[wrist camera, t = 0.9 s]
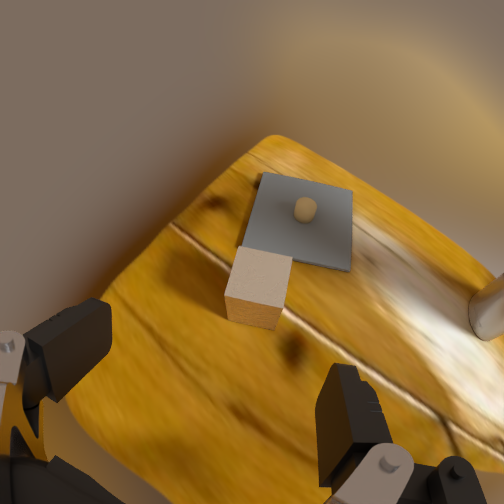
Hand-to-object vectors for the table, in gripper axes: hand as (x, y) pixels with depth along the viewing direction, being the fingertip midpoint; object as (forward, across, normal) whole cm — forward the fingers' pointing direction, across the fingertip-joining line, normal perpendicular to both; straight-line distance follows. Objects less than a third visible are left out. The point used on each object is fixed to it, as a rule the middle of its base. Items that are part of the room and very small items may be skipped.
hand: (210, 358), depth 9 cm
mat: (+37, -5, -2) cm, 38 cm away
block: (+26, 0, +9) cm, 28 cm away
